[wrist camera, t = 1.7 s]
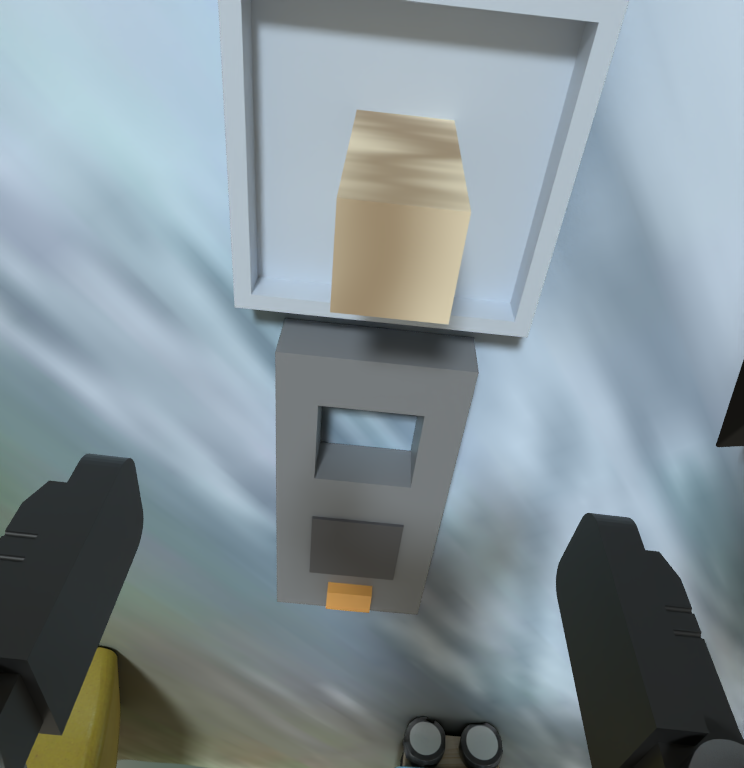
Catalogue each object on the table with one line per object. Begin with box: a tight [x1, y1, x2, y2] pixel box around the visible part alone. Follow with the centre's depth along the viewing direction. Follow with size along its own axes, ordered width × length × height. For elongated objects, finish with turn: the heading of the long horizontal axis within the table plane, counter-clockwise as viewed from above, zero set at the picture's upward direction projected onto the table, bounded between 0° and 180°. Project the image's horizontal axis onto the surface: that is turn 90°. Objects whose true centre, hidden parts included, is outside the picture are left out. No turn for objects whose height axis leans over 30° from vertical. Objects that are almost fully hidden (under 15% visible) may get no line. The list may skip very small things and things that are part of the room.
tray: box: [218, 0, 629, 337], centre depth 26 cm, size 14×14×2 cm
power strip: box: [275, 318, 479, 615], centre depth 39 cm, size 10×22×4 cm, turn 175°
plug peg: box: [330, 110, 471, 325], centre depth 23 cm, size 4×4×9 cm
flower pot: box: [26, 647, 120, 768], centre depth 52 cm, size 19×19×17 cm
